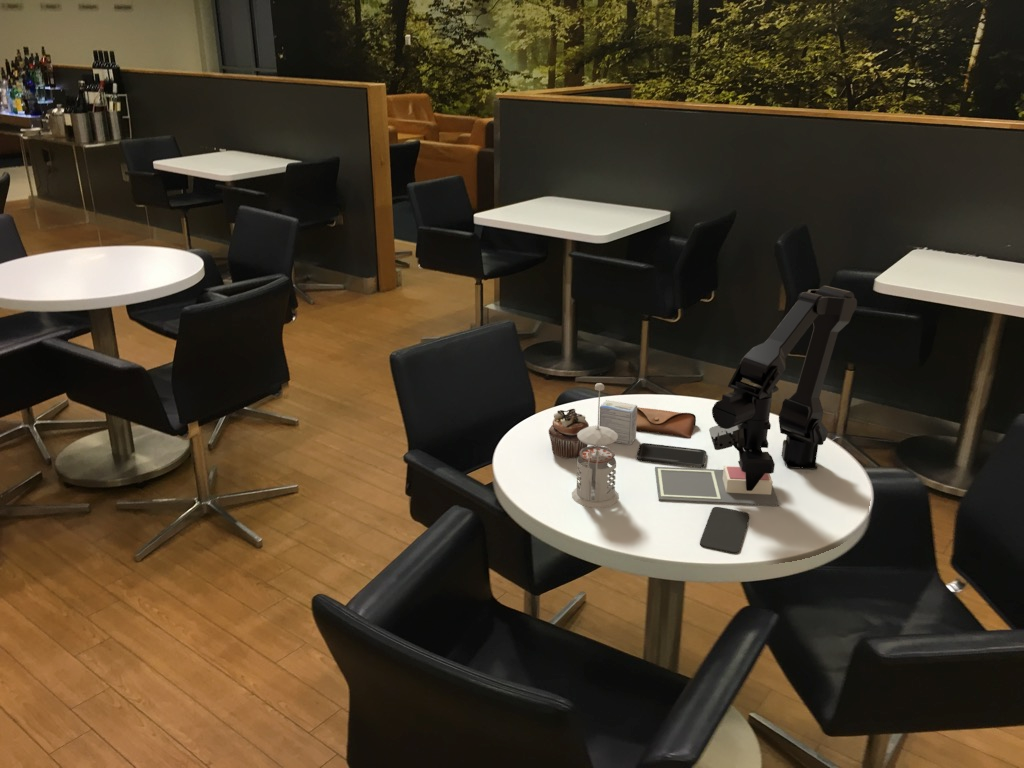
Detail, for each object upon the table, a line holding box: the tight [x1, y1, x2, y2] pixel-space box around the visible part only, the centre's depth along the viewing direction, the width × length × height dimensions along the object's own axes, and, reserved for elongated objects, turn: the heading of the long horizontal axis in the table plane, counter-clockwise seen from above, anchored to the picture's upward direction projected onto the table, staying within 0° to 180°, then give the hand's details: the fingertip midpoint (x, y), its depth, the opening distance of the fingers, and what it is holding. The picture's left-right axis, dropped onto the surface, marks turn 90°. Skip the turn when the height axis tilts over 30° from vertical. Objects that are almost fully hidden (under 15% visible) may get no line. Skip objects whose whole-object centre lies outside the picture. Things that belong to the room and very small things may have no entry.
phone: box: [699, 506, 750, 555], centre depth 162 cm, size 7×1×15 cm
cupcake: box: [548, 408, 590, 459], centre depth 191 cm, size 10×10×10 cm
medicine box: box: [599, 399, 638, 446], centre depth 197 cm, size 8×4×9 cm, turn 65°
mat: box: [654, 466, 781, 507], centre depth 177 cm, size 24×14×1 cm, turn 84°
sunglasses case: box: [636, 406, 697, 439], centre depth 205 cm, size 18×7×7 cm, turn 74°
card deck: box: [722, 465, 774, 495], centre depth 176 cm, size 9×6×3 cm, turn 84°
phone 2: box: [636, 442, 707, 469], centre depth 190 cm, size 8×1×15 cm
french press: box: [571, 382, 620, 509], centre depth 169 cm, size 10×12×25 cm
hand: (746, 482), depth 176 cm, fingers closed on card deck, 6 cm apart
